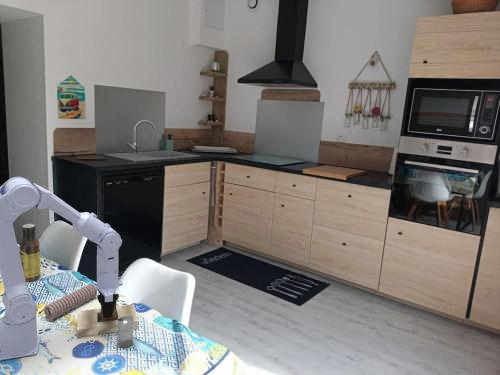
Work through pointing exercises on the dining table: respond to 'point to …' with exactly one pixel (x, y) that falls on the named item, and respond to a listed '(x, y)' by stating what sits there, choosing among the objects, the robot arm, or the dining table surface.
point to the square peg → (109, 317)
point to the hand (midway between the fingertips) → (107, 312)
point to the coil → (69, 302)
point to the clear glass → (125, 332)
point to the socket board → (91, 326)
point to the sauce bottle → (30, 253)
